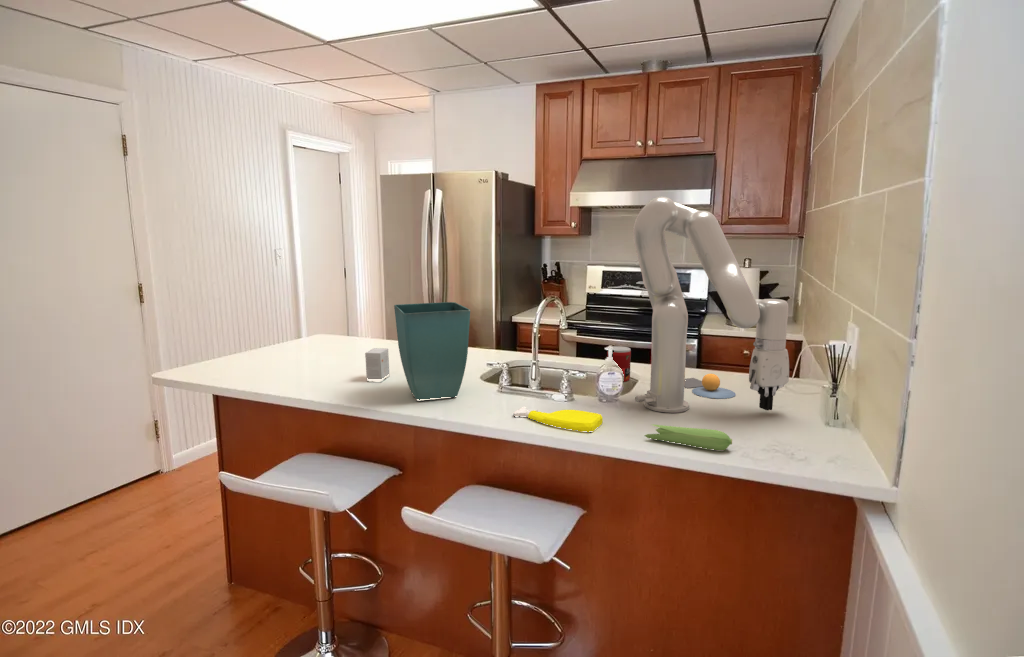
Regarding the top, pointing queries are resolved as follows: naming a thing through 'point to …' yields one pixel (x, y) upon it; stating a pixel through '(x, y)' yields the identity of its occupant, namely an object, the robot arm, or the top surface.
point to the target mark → (714, 393)
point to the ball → (711, 382)
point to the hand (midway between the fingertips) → (765, 408)
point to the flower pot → (433, 347)
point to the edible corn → (692, 437)
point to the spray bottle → (565, 418)
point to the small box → (377, 363)
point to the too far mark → (692, 383)
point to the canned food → (623, 360)
